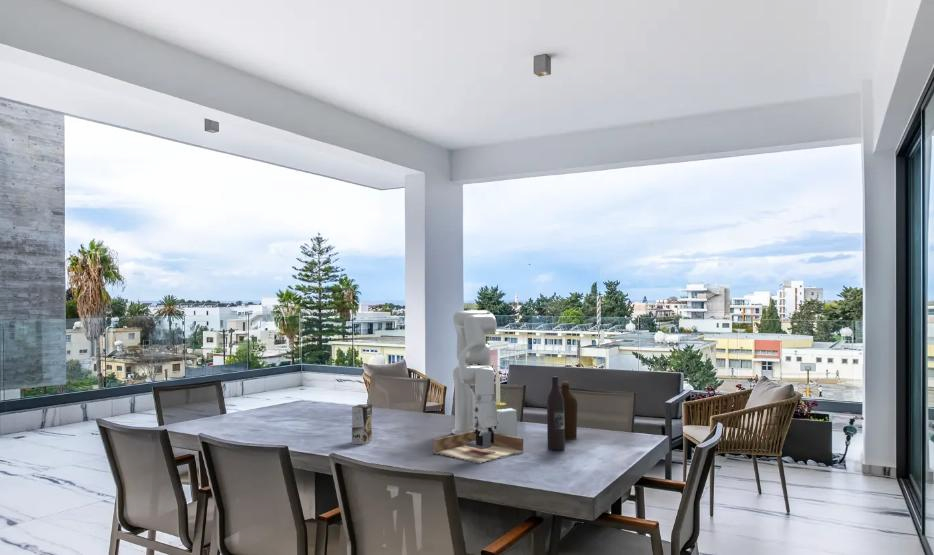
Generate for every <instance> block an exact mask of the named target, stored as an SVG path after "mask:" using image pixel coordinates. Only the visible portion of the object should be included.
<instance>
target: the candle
mask: <svg viewBox="0 0 934 555" xmlns="http://www.w3.org/2000/svg"><path fill="white" fill-rule="evenodd" d="M496 371H497V372H496V374H495V403H496V408H497V410H499V409H501V408H502V407H501V406H506V405H507V403H506V402H504V401H503V402H501V374H500V373H499V370H496Z"/></svg>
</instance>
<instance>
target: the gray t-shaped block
mask: <svg viewBox="0 0 934 555" xmlns="http://www.w3.org/2000/svg"><path fill="white" fill-rule="evenodd" d="M482 436H483V446H478V445H476V441H475V440H474V441H470V442H466V446H468V447H474V448H478V449H486V448H490V447H492V432H489V431H488V430H487V431H484V432H482Z"/></svg>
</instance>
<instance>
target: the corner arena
mask: <svg viewBox="0 0 934 555" xmlns="http://www.w3.org/2000/svg"><path fill="white" fill-rule="evenodd" d="M478 431H480V429H479V430H478ZM482 432H485V431H484V430H483V431H482ZM432 440H433V442H432V444H433V445H432V446H433V452H432V454H434V453H435V454H434V455H438V454H440V455H439V456H443V455H445V456H444V457H447V456H450V457H449V458H452V457H455V458H454V459H456V458H460V459H459V460H461V459H465V460H469V461H468V462H470V461H473V462H472V463H475V462H478V463H477V464H479V463H482V462H485V463H487V462H486V461H489V460H493V461H495V460H494V459H496V460H498V459H497V458H500V459H502V458H501V457H504V458H506V457H505V456H507V457H510V456H509V455H511V456H514V455H513V454H515V455H518V454H521V452H522V453H524V437H519V436H517V437H513V436H508V435H502V434H496V433H494V443H492V447H490V448H486V449H478V448H474V447H468V446H466V442H470V441H474V440H475V441H476V435H475V433H474V432H473V431H470V432H465V433H461V434H452V435H448V436H443V437H438V438H433V439H432ZM517 453H518V454H517ZM465 460H464V461H465ZM489 462H490V461H489ZM482 464H483V463H482Z"/></svg>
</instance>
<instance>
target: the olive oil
mask: <svg viewBox="0 0 934 555" xmlns="http://www.w3.org/2000/svg"><path fill="white" fill-rule="evenodd" d="M560 392H561V394H562V396H563V399H564V428H565V440H574V439H576V438H577V436H578V435H577V428H578V425H577V424H578V399H577V398H576V396H575V395H574V393H572V392H571V391H570V382H569V381H567V380H564V381H561V389H560ZM573 438H574V439H573Z"/></svg>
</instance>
